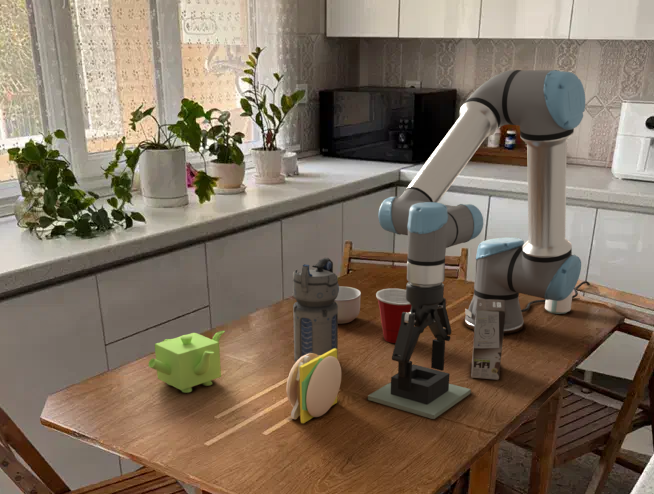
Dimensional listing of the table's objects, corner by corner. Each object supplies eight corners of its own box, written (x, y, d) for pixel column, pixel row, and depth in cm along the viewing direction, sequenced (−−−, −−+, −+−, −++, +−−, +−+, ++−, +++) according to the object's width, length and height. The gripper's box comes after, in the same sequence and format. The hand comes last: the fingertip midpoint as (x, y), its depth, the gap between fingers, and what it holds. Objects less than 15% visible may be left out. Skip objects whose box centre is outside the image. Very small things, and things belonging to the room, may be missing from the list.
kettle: (227, 370, 180) (224, 324, 176) (221, 396, 167) (218, 347, 163) (162, 371, 180) (157, 325, 175) (150, 397, 167) (145, 347, 162)
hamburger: (313, 395, 167) (313, 343, 162) (346, 405, 163) (346, 351, 158) (279, 416, 158) (277, 360, 153) (312, 426, 154) (312, 369, 149)
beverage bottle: (348, 357, 188) (349, 255, 178) (324, 377, 177) (324, 269, 167) (311, 351, 192) (310, 250, 182) (285, 369, 181) (282, 263, 171)
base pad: (407, 376, 177) (407, 362, 176) (470, 393, 168) (472, 378, 167) (367, 399, 165) (367, 384, 164) (433, 419, 157) (434, 403, 155)
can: (550, 305, 225) (554, 264, 220) (573, 309, 221) (579, 268, 217) (540, 311, 220) (545, 270, 215) (564, 316, 216) (570, 274, 211)
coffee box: (499, 380, 175) (506, 311, 168) (470, 378, 176) (475, 309, 170) (499, 365, 183) (505, 299, 177) (471, 363, 184) (477, 297, 178)
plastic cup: (396, 350, 192) (398, 303, 188) (366, 339, 200) (366, 293, 195) (426, 340, 199) (428, 294, 194) (395, 329, 206) (397, 285, 202)
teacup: (367, 318, 215) (368, 290, 212) (347, 329, 207) (347, 300, 204) (325, 309, 222) (325, 282, 219) (303, 320, 214) (303, 292, 210)
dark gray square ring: (412, 380, 172) (413, 364, 171) (448, 390, 167) (449, 373, 166) (390, 394, 165) (390, 376, 164) (427, 404, 161) (428, 387, 159)
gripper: (439, 265, 168) (435, 357, 177) (375, 294, 150) (373, 394, 158) (471, 270, 164) (465, 364, 172) (408, 301, 146) (405, 404, 154)
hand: (421, 379), depth 165 cm, fingers open, 13 cm apart
